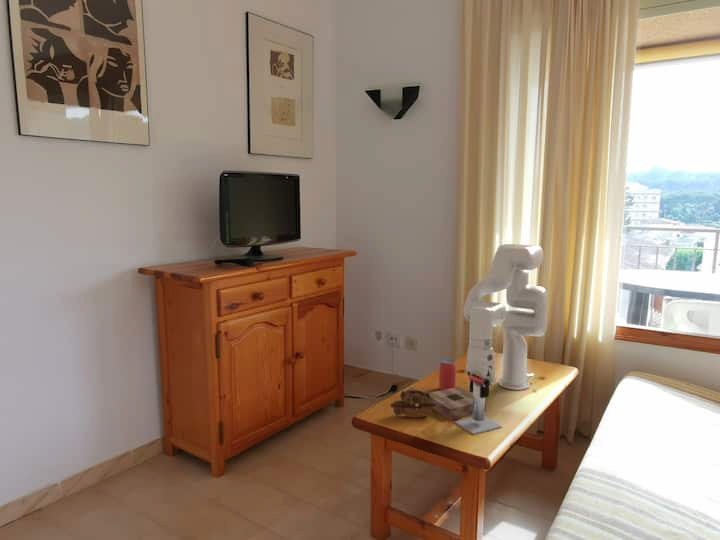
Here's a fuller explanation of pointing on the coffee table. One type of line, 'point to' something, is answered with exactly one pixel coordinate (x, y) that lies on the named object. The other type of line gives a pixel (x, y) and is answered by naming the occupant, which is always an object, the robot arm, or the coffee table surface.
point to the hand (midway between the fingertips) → (479, 393)
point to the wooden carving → (413, 403)
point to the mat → (478, 425)
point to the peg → (477, 398)
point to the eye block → (453, 402)
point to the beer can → (447, 374)
